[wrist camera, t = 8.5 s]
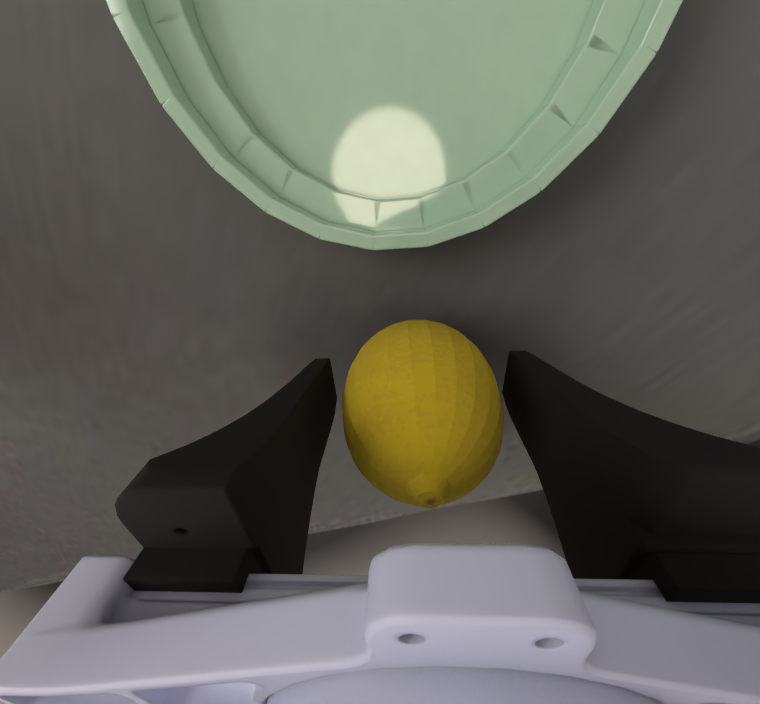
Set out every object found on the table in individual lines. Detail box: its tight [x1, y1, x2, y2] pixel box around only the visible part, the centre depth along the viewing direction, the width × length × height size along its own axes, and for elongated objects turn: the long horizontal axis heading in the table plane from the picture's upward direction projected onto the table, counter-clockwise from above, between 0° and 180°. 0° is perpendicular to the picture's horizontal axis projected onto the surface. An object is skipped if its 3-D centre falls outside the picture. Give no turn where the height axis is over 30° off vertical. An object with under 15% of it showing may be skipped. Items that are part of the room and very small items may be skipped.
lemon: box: [342, 319, 503, 508], centre depth 11 cm, size 6×6×8 cm
